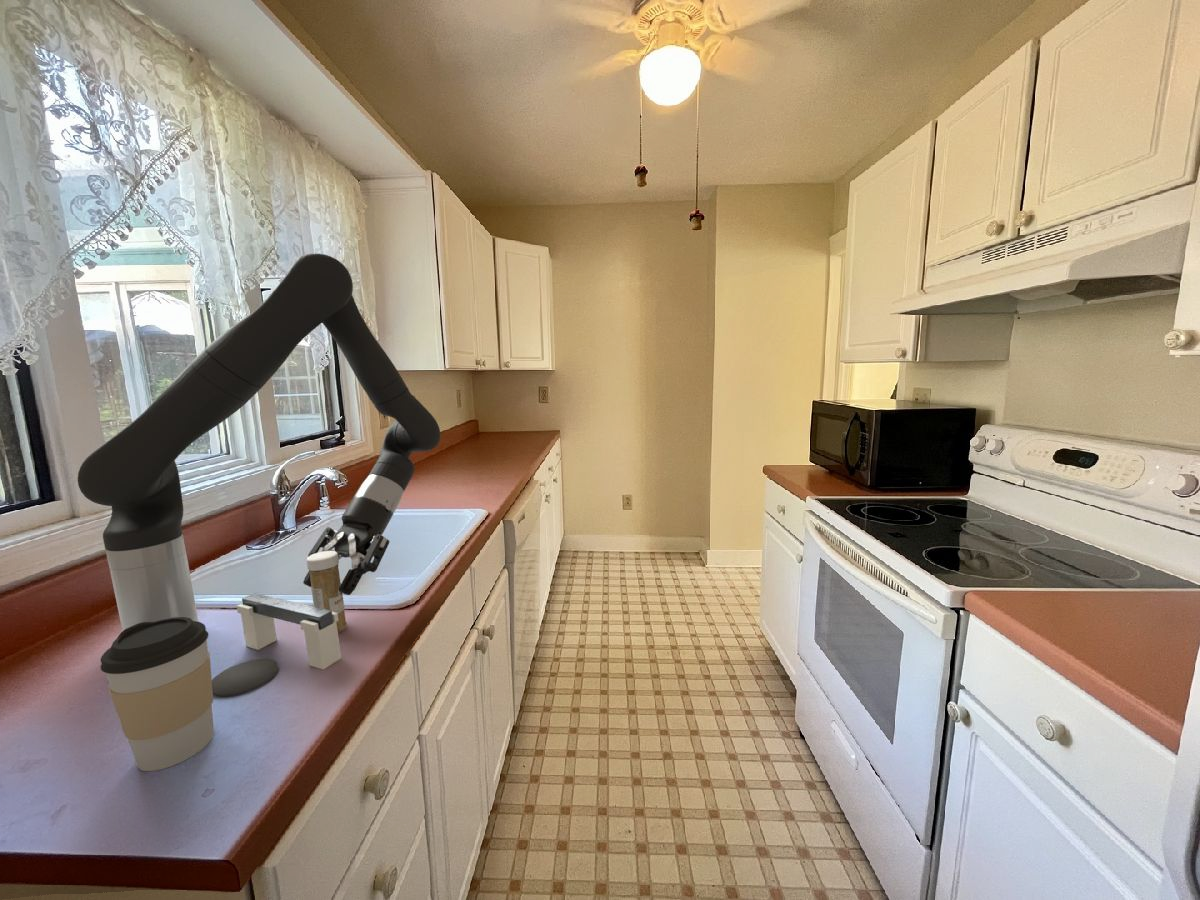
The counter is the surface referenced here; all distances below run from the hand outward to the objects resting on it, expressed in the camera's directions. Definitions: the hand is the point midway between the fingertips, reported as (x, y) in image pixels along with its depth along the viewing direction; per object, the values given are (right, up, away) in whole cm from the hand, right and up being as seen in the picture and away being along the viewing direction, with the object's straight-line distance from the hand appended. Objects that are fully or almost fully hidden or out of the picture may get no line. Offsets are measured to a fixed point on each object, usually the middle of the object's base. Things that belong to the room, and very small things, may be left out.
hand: (325, 589), depth 81 cm
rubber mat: (-5, -9, -11) cm, 16 cm away
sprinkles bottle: (0, -7, +1) cm, 8 cm away
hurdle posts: (-2, -8, -5) cm, 10 cm away
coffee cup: (-4, -12, -24) cm, 27 cm away
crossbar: (-3, -2, -6) cm, 7 cm away
